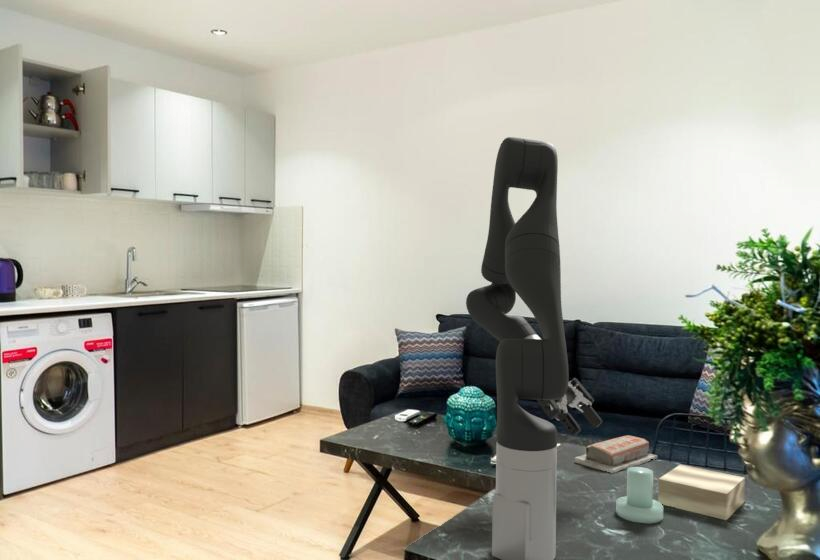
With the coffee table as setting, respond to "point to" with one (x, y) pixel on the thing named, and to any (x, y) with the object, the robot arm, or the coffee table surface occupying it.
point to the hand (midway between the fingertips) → (588, 429)
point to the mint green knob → (639, 498)
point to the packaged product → (616, 454)
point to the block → (702, 491)
